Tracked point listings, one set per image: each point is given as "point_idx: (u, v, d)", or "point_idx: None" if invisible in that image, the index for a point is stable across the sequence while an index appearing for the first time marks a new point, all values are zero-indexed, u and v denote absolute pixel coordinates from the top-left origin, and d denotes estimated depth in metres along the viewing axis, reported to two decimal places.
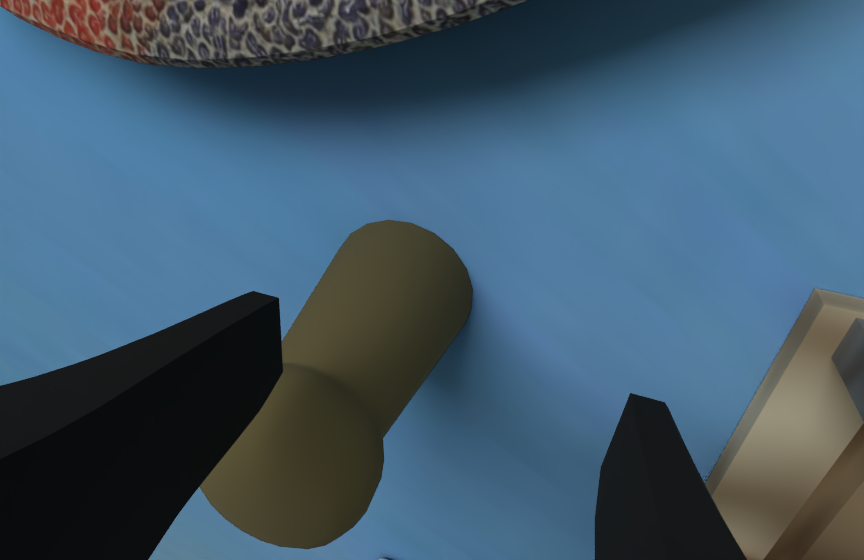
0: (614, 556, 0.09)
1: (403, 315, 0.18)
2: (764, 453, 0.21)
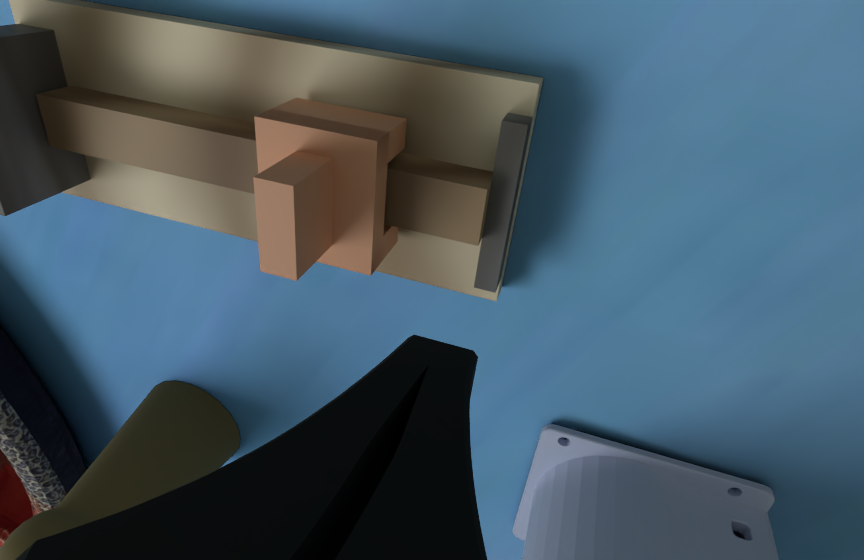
0: None
1: (103, 450, 0.28)
2: (185, 206, 0.23)
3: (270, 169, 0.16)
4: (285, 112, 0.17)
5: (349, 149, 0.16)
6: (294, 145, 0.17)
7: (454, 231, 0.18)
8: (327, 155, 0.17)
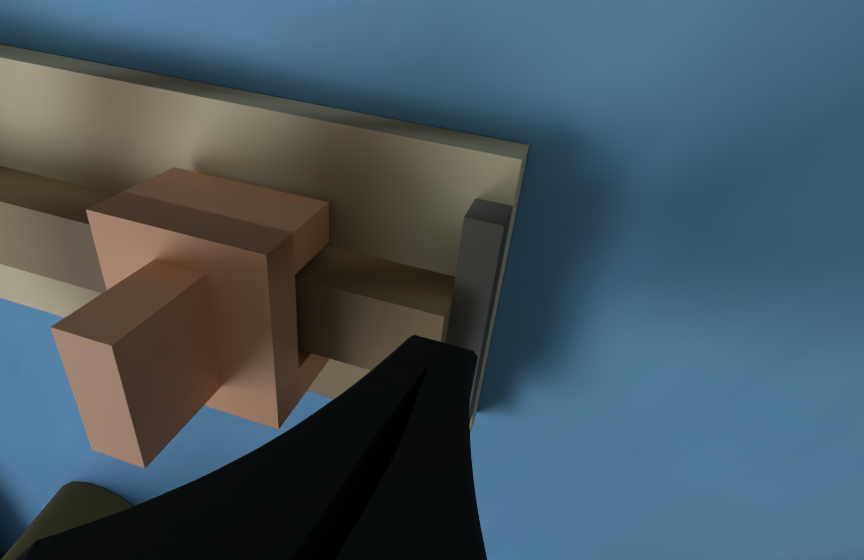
0: None
1: None
2: (56, 295, 0.17)
3: (89, 306, 0.10)
4: (141, 198, 0.12)
5: (227, 263, 0.11)
6: (148, 253, 0.11)
7: None
8: (196, 269, 0.11)
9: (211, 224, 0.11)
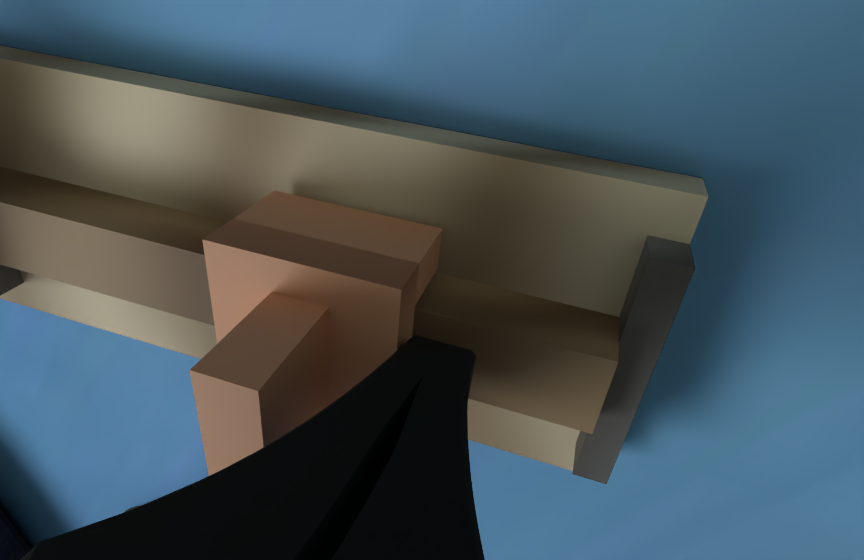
0: None
1: None
2: (152, 323, 0.17)
3: (222, 345, 0.09)
4: (255, 227, 0.11)
5: (356, 297, 0.10)
6: (267, 284, 0.11)
7: (555, 411, 0.12)
8: (319, 302, 0.10)
9: (334, 255, 0.10)
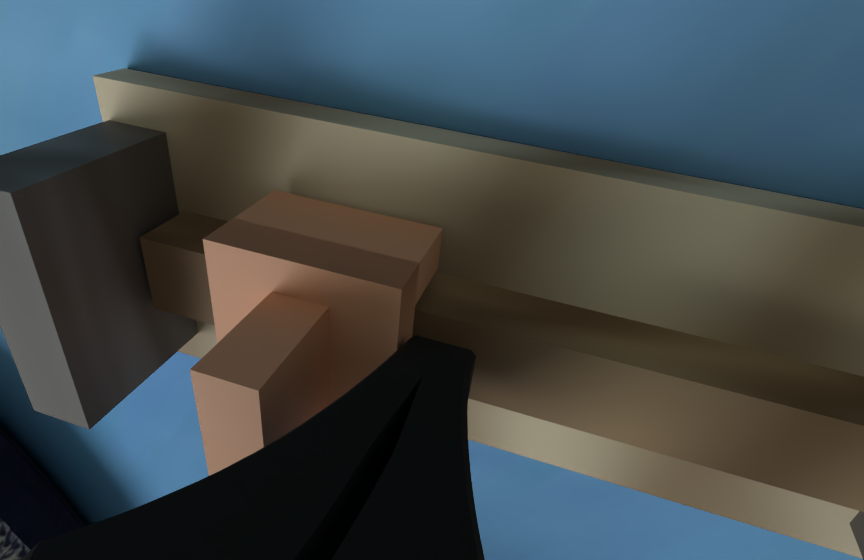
0: None
1: None
2: None
3: (222, 345, 0.09)
4: (255, 226, 0.11)
5: (356, 297, 0.10)
6: (267, 284, 0.11)
7: None
8: (320, 302, 0.10)
9: (334, 254, 0.10)
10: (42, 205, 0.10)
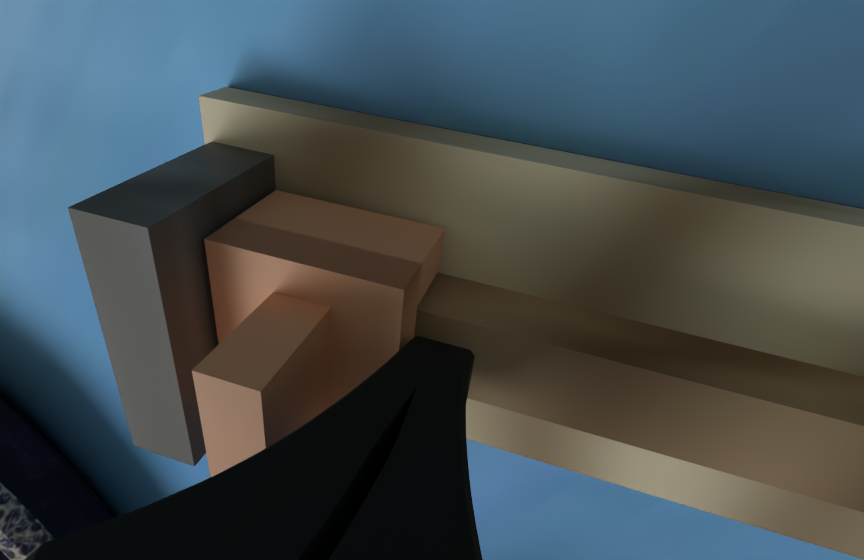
0: None
1: None
2: None
3: (224, 345, 0.09)
4: (256, 226, 0.11)
5: (358, 297, 0.10)
6: (269, 284, 0.11)
7: None
8: (321, 302, 0.10)
9: (336, 255, 0.10)
10: (172, 238, 0.10)
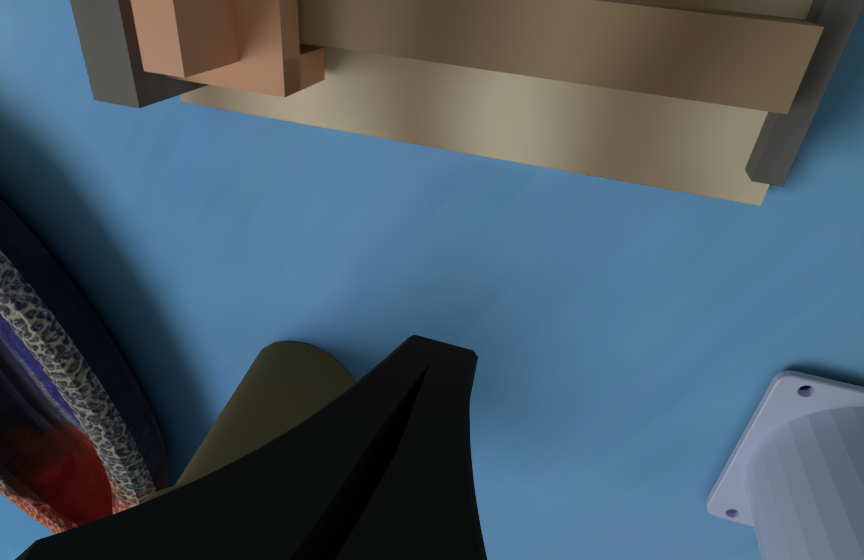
0: None
1: (217, 419, 0.24)
2: (343, 106, 0.19)
3: None
4: None
5: None
6: None
7: (755, 95, 0.14)
8: None
9: None
10: None
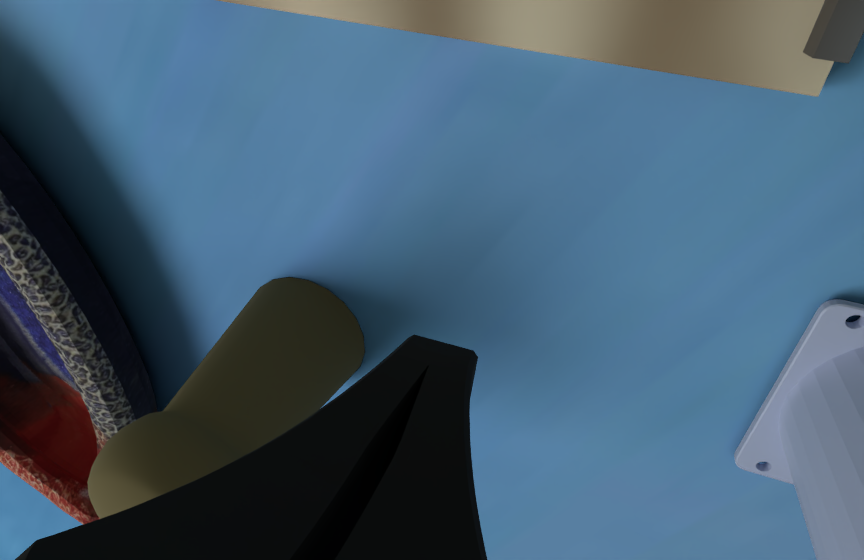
0: None
1: None
2: None
3: None
4: None
5: None
6: None
7: None
8: None
9: None
10: None
